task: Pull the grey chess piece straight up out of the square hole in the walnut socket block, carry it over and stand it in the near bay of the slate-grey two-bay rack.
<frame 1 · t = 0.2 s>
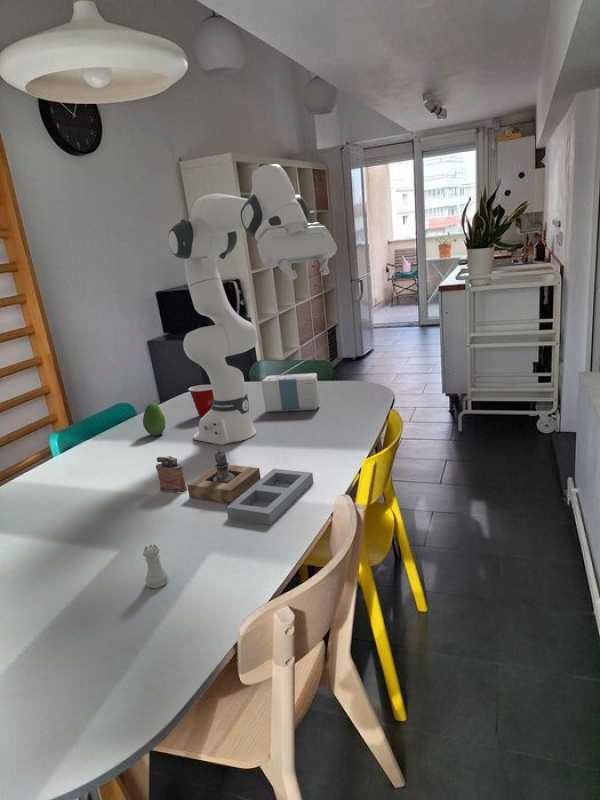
hand: (310, 276, 130), 54 cm above the table, tool tilted 30°, fingers open, 8 cm apart
grey chess piece: (226, 490, 149), resting in socket block
avocado: (156, 435, 202), on the table
teal banded white box: (293, 409, 213), on the table
rack: (272, 499, 139), on the table
rook chess piece: (158, 583, 110), on the table
socket block: (226, 489, 149), on the table
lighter: (173, 490, 152), on the table
plastic cup: (207, 415, 218), on the table
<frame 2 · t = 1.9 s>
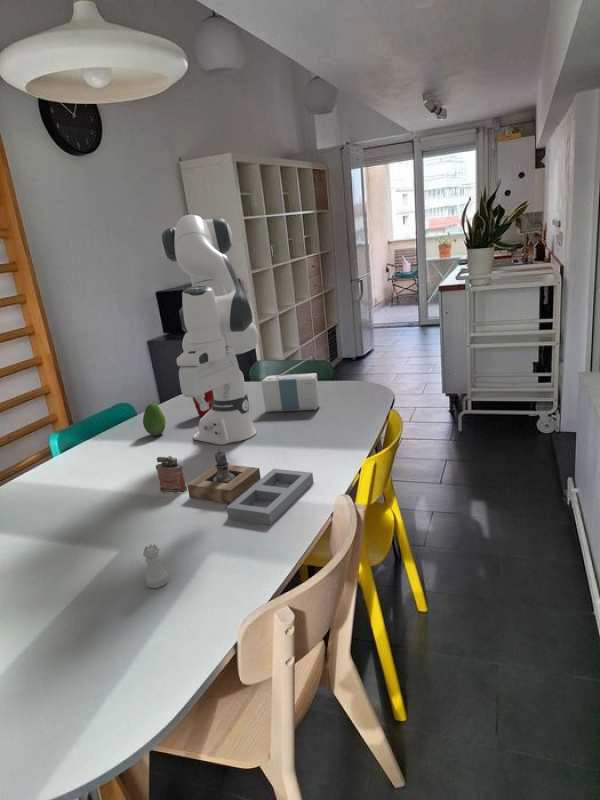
hand: (216, 404, 141), 24 cm above the table, tool pointing down, fingers open, 8 cm apart
nothing on the table moved.
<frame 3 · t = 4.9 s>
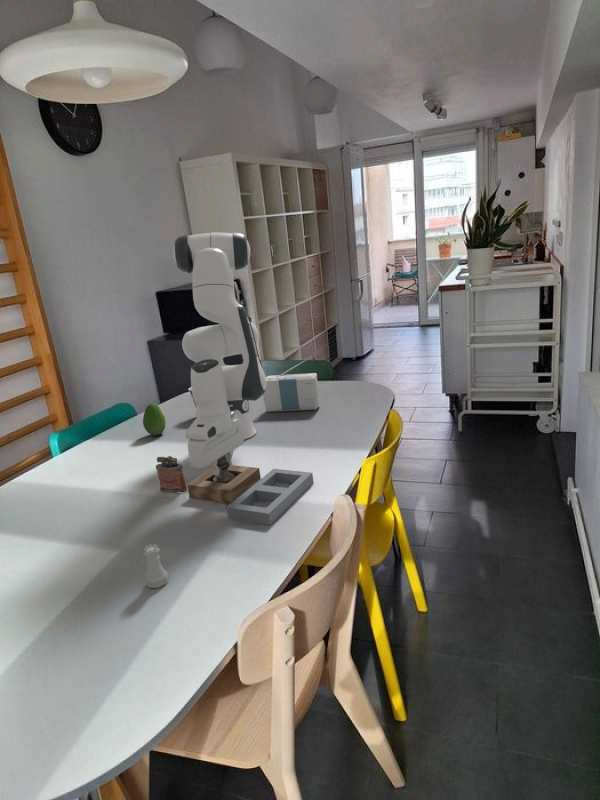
hand: (222, 470, 147), 6 cm above the table, tool pointing down, fingers closed on grey chess piece, 4 cm apart
grey chess piece: (226, 490, 149), resting in socket block, touching gripper
everything else where it was.
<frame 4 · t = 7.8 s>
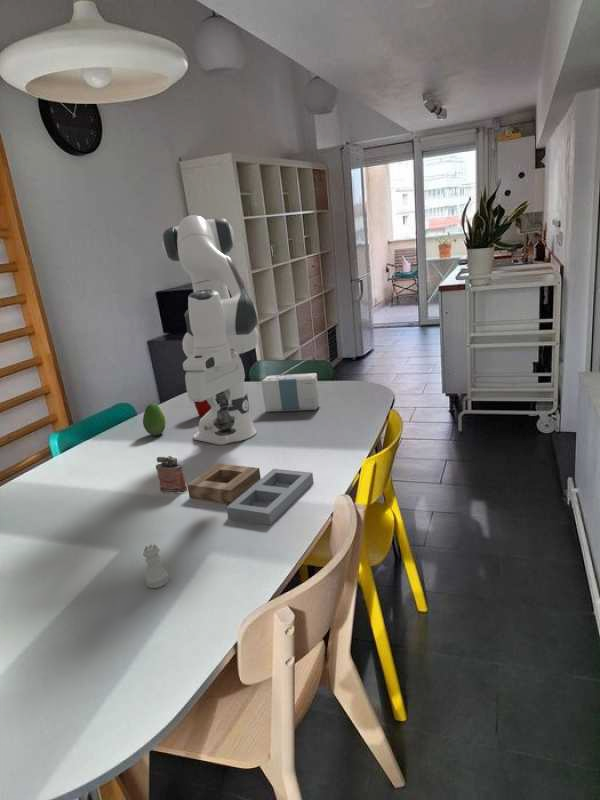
hand: (222, 408, 141), 23 cm above the table, tool pointing down, fingers closed on grey chess piece, 4 cm apart
grey chess piece: (226, 432, 143), point 16 cm above the table, touching gripper
everything else where it was.
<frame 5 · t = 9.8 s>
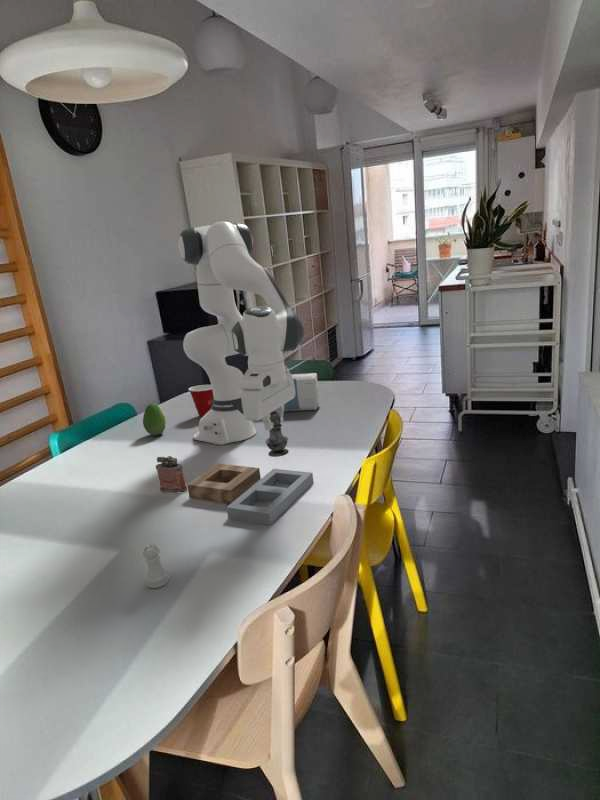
hand: (274, 425, 139), 18 cm above the table, tool pointing down, fingers closed on grey chess piece, 4 cm apart
grey chess piece: (278, 453, 141), point 11 cm above the table, touching gripper
everything else where it was.
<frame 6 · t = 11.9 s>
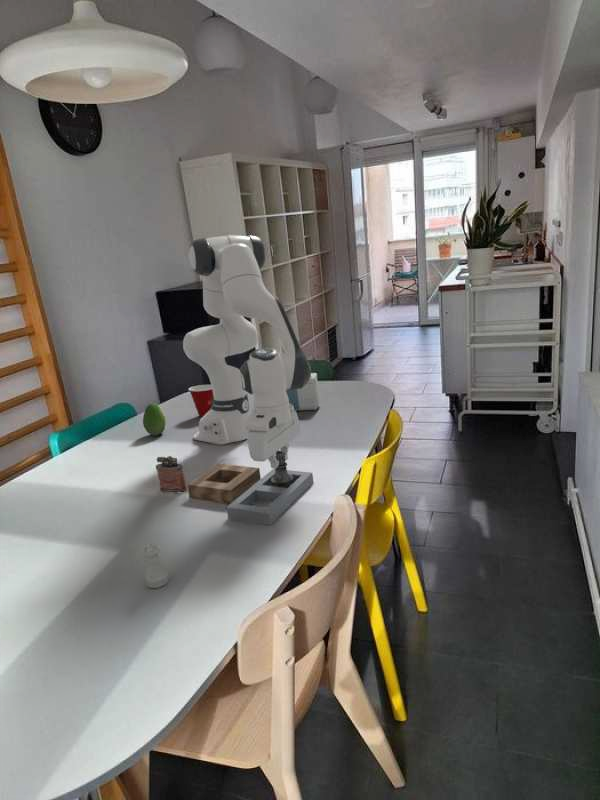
hand: (279, 463, 142), 8 cm above the table, tool pointing down, fingers closed on grey chess piece, 3 cm apart
grey chess piece: (283, 491, 144), resting in rack, touching gripper
everything else where it was.
when the fingers open (8 cm above the table, at t = 12.3 s): grey chess piece stays where it is, resting in rack.
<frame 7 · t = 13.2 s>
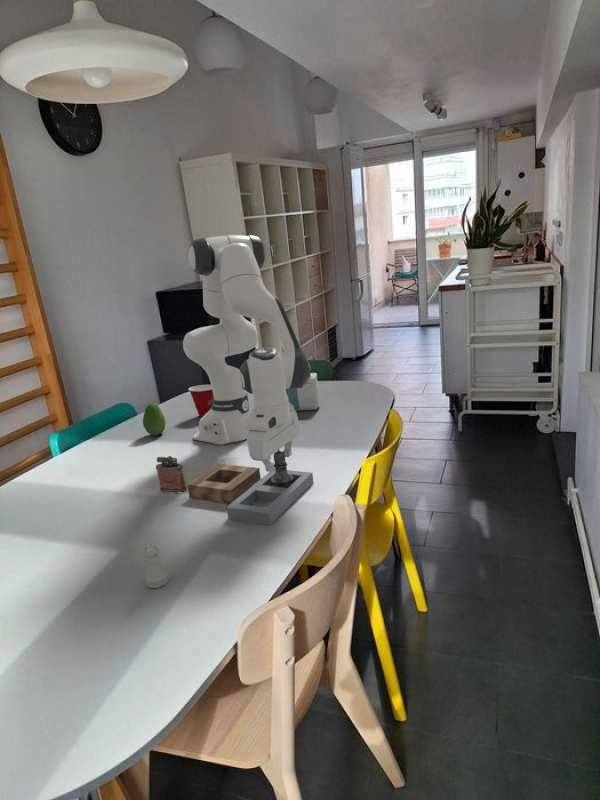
hand: (279, 463, 142), 8 cm above the table, tool pointing down, fingers open, 8 cm apart
grey chess piece: (283, 491, 144), resting in rack
everything else where it was.
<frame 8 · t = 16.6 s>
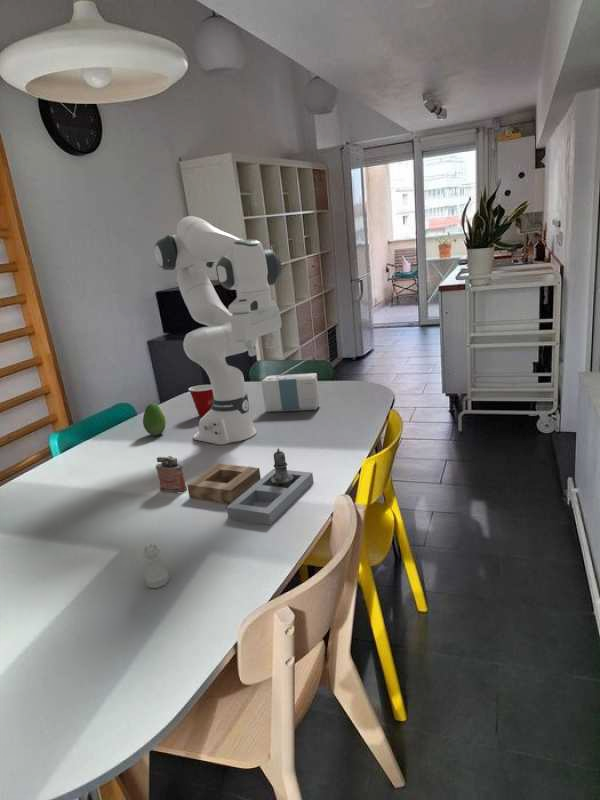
hand: (261, 351, 151), 34 cm above the table, tool pointing down, fingers open, 8 cm apart
nothing on the table moved.
at the end: grey chess piece 0.2 cm from the target spot, resting in rack; grey chess piece tilted 0°; the gripper is holding nothing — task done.
